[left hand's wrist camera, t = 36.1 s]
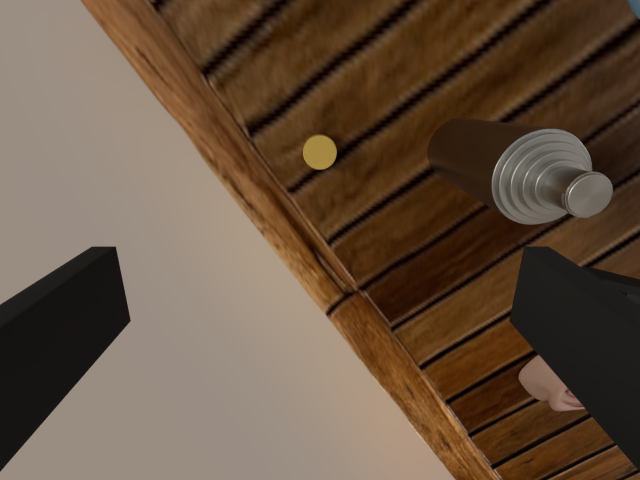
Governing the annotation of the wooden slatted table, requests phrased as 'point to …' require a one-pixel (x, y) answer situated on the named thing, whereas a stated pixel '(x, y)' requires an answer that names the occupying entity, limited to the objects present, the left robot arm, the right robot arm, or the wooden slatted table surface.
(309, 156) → the cap
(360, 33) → the wooden slatted table surface
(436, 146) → the bottle
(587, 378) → the left robot arm
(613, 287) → the right robot arm
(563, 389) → the anatomical model
